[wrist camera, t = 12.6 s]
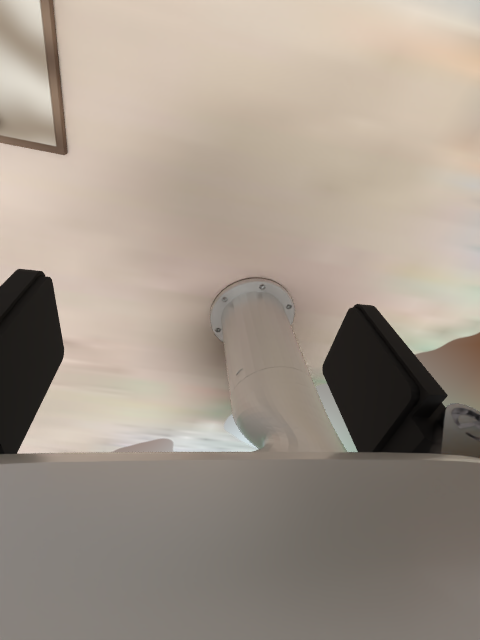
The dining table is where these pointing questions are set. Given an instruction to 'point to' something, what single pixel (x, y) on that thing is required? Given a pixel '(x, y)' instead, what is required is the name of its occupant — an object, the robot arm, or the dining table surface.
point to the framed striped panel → (30, 77)
